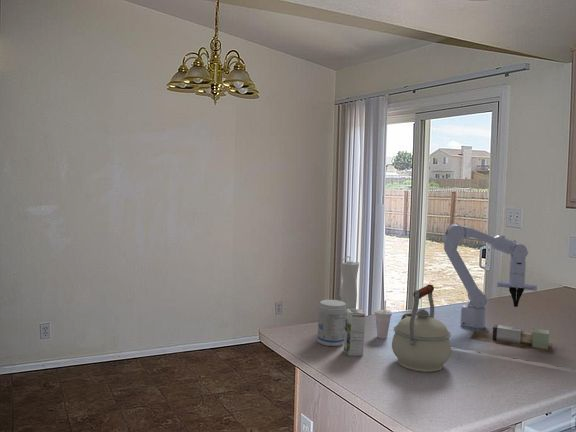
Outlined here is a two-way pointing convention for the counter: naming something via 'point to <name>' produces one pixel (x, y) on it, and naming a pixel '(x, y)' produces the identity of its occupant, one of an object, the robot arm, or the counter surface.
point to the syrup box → (354, 332)
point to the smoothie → (382, 322)
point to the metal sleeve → (509, 334)
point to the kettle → (422, 338)
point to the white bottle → (349, 283)
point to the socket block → (540, 338)
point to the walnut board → (488, 338)
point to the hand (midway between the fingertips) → (515, 306)
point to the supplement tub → (331, 322)
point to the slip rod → (524, 338)
